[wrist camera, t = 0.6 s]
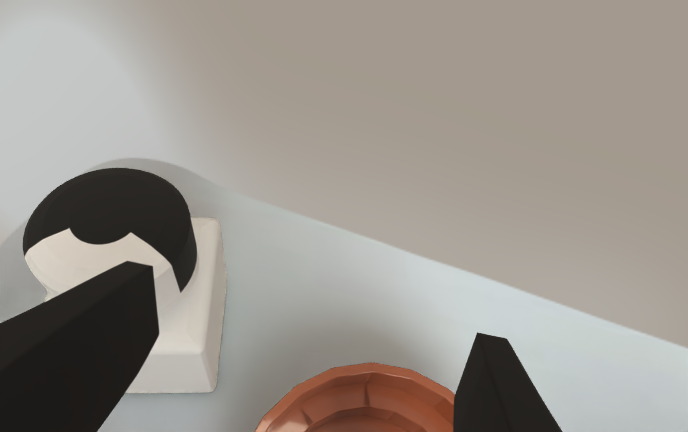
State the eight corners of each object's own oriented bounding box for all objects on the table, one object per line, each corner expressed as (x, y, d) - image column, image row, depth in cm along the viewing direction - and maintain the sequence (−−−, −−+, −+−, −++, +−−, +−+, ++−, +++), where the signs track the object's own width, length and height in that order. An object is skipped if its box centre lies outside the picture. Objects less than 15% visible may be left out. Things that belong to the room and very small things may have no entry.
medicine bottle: (110, 275, 29) (34, 141, 19) (228, 278, 30) (212, 152, 20) (78, 395, 25) (-38, 302, 15) (216, 394, 26) (189, 305, 16)
